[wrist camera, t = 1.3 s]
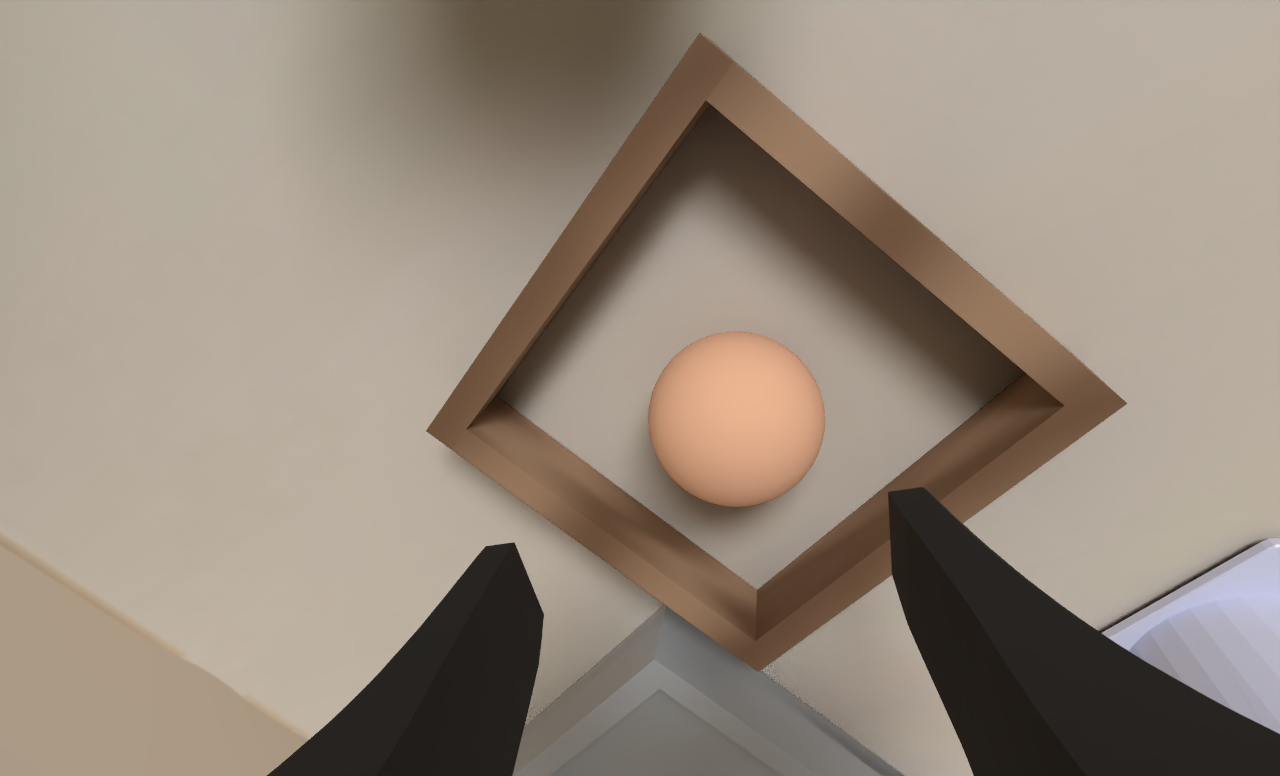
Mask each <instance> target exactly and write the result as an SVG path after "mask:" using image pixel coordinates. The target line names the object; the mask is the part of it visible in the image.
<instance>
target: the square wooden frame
mask: <svg viewBox="0 0 1280 776" xmlns="http://www.w3.org/2000/svg"><path fill="white" fill-rule="evenodd" d="M710 104H711V105H712V106H713V107H714V108H716V109H717V110H718V111H719V112H720V113H721V114H723V115H724V116H725V117H726V118H727V119H729V120H730V121H731V122H732V123H733V124H734V125H736V126H737V127H738V128H739V129H740V130H741V131H743V132H744V133H745V134H746V135H747V136H748V137H750V138H751V139H752V140H753V141H754V142H755V143H757V144H758V145H759V146H760V147H761V148H763V149H764V150H765V151H766V152H767V153H768V154H770V155H771V156H772V157H773V158H774V159H775V160H777V161H778V162H779V163H780V164H781V165H782V166H784V167H785V168H786V169H787V170H788V171H790V172H791V173H792V174H793V175H794V176H795V177H797V178H798V179H799V180H800V181H801V182H802V183H804V184H805V185H806V186H807V187H808V188H809V189H811V190H812V191H813V192H814V193H815V194H817V195H818V196H819V197H820V198H821V199H822V200H824V201H825V202H826V203H827V204H828V205H829V206H831V207H832V208H833V209H834V210H835V211H836V212H838V213H839V214H840V215H841V216H842V217H844V218H845V219H846V220H847V221H848V222H849V223H851V224H852V225H853V226H854V227H855V228H856V229H858V230H859V231H860V232H861V233H862V234H863V235H865V236H866V237H867V238H868V239H869V240H870V241H872V242H873V243H874V244H875V245H876V246H878V247H879V248H880V249H881V250H882V251H883V252H885V253H886V254H887V255H888V256H889V257H890V258H892V259H893V260H894V261H895V262H896V263H897V264H899V265H900V266H901V267H902V268H903V269H905V270H906V271H907V272H908V273H909V274H910V275H912V276H913V277H914V278H915V279H916V280H917V281H919V282H920V283H921V284H922V285H923V286H924V287H926V288H927V289H928V290H929V291H930V292H932V293H933V294H934V295H935V296H936V297H937V298H939V299H940V300H941V301H942V302H943V303H944V304H946V305H947V306H948V307H949V308H950V309H951V310H953V311H954V312H955V313H956V314H957V315H959V316H960V317H961V318H962V319H963V320H964V321H966V322H967V323H968V324H969V325H970V326H971V327H973V328H974V329H975V330H976V331H977V332H978V333H980V334H981V335H982V336H983V337H984V338H985V339H987V340H988V341H989V342H990V343H991V344H993V345H994V346H995V347H996V348H997V349H998V350H1000V351H1001V352H1002V353H1003V354H1004V355H1005V356H1007V357H1008V358H1009V359H1010V360H1011V361H1012V362H1014V363H1015V364H1016V365H1017V366H1018V367H1020V368H1021V369H1022V370H1023V371H1024V372H1025V374H1024V375H1023V376H1021V377H1020V378H1019V379H1018V380H1016V381H1015V382H1014V383H1013V384H1011V385H1010V386H1009V387H1008V388H1007V389H1005V390H1004V391H1003V392H1002V393H1000V394H999V395H998V396H997V397H995V398H994V399H993V400H992V401H990V402H989V403H988V404H987V405H986V406H984V407H983V408H982V409H981V410H979V411H978V412H977V413H976V414H974V415H973V416H972V417H971V418H969V419H968V420H967V421H966V422H965V423H963V424H962V425H961V426H960V427H958V428H957V429H956V430H955V431H953V432H952V433H951V434H950V435H949V436H947V437H946V438H945V439H944V440H942V441H941V442H940V443H939V444H937V445H936V446H935V447H934V448H932V449H931V450H930V451H929V452H928V453H926V454H925V455H924V456H923V457H921V458H920V459H919V460H918V461H916V462H915V463H914V464H913V465H911V466H910V467H909V468H908V469H907V470H905V471H904V472H903V473H902V474H900V475H899V476H898V477H897V478H895V479H894V480H893V481H892V482H891V483H889V484H888V485H887V486H886V487H884V488H883V489H882V490H881V491H879V492H878V493H877V494H876V495H874V496H873V497H872V498H871V499H870V500H868V501H867V502H866V503H865V504H863V505H862V506H861V507H860V508H858V509H857V510H856V511H855V512H853V513H852V514H851V515H850V516H849V517H847V518H846V519H845V520H844V521H842V522H841V523H840V524H839V525H837V526H836V527H835V528H834V529H833V530H831V531H830V532H829V533H828V534H826V535H825V536H824V537H823V538H821V539H820V540H819V541H818V542H816V543H815V544H814V545H813V546H812V547H810V548H809V549H808V550H807V551H805V552H804V553H803V554H802V555H800V556H799V557H798V558H797V559H795V560H794V561H793V562H792V563H791V564H789V565H788V566H787V567H786V568H784V569H783V570H782V571H781V572H779V573H778V574H777V575H776V576H774V577H773V578H772V579H771V580H770V581H768V582H767V583H766V584H765V585H763V586H762V587H761V588H760V589H758V590H756V589H754V588H753V587H752V586H750V585H749V584H748V583H746V582H745V581H744V580H742V579H741V578H740V577H738V576H737V575H736V574H734V573H733V572H732V571H730V570H729V569H728V568H726V567H725V566H724V565H722V564H721V563H719V562H718V561H717V560H715V559H714V558H713V557H711V556H710V555H709V554H707V553H706V552H705V551H703V550H702V549H701V548H699V547H698V546H697V545H695V544H694V543H693V542H691V541H690V540H689V539H687V538H686V537H685V536H683V535H682V534H681V533H679V532H678V531H677V530H675V529H674V528H673V527H671V526H670V525H669V524H667V523H666V522H665V521H663V520H662V519H661V518H659V517H658V516H656V515H655V514H654V513H652V512H651V511H650V510H648V509H647V508H646V507H644V506H643V505H642V504H640V503H639V502H638V501H636V500H635V499H634V498H632V497H631V496H630V495H628V494H627V493H626V492H624V491H623V490H622V489H620V488H619V487H618V486H616V485H615V484H614V483H612V482H611V481H610V480H608V479H607V478H606V477H604V476H603V475H602V474H600V473H599V472H597V471H596V470H595V469H593V468H592V467H591V466H589V465H588V464H587V463H585V462H584V461H583V460H581V459H580V458H579V457H577V456H576V455H575V454H573V453H572V452H571V451H569V450H568V449H567V448H565V447H564V446H563V445H561V444H560V443H559V442H557V441H556V440H555V439H553V438H552V437H551V436H549V435H548V434H547V433H545V432H544V431H543V430H541V429H540V428H539V427H537V426H536V425H534V424H533V423H532V422H530V421H529V420H528V419H526V418H525V417H524V416H522V415H521V414H520V413H518V412H517V411H516V410H514V409H513V408H512V407H510V406H509V405H508V404H506V403H505V402H504V401H502V400H501V399H500V398H498V397H497V396H496V395H497V394H498V393H499V391H500V390H501V389H502V387H503V386H504V385H505V383H506V382H507V380H508V379H509V378H510V376H511V375H512V374H513V372H514V371H515V370H516V368H517V367H518V366H519V364H520V363H521V361H522V360H523V359H524V357H525V356H526V355H527V353H528V352H529V351H530V349H531V348H532V346H533V345H534V344H535V342H536V341H537V340H538V338H539V337H540V336H541V334H542V333H543V331H544V330H545V329H546V327H547V326H548V325H549V323H550V322H551V321H552V319H553V318H554V316H555V315H556V314H557V312H558V311H559V310H560V308H561V307H562V306H563V304H564V303H565V301H566V300H567V299H568V297H569V296H570V295H571V293H572V292H573V291H574V289H575V288H576V286H577V285H578V284H579V282H580V281H581V280H582V278H583V277H584V276H585V274H586V273H587V271H588V270H589V269H590V267H591V266H592V265H593V263H594V262H595V261H596V259H597V258H598V256H599V255H600V254H601V252H602V251H603V250H604V248H605V247H606V246H607V244H608V243H609V241H610V240H611V239H612V237H613V236H614V235H615V233H616V232H617V231H618V229H619V228H620V226H621V225H622V224H623V222H624V221H625V220H626V218H627V217H628V216H629V214H630V213H631V211H632V210H633V209H634V207H635V206H636V205H637V203H638V202H639V201H640V199H641V198H642V197H643V195H644V194H645V192H646V191H647V190H648V188H649V187H650V186H651V184H652V183H653V182H654V180H655V179H656V177H657V176H658V175H659V173H660V172H661V171H662V169H663V168H664V167H665V165H666V164H667V162H668V161H669V160H670V158H671V157H672V156H673V154H674V153H675V152H676V150H677V149H678V147H679V146H680V145H681V143H682V142H683V141H684V139H685V138H686V137H687V135H688V134H689V132H690V131H691V130H692V128H693V127H694V126H695V124H696V123H697V122H698V120H699V119H700V117H701V116H702V115H703V113H704V112H705V111H706V109H707V108H708V107H709V105H710ZM1126 404H1127V403H1126V402H1125V401H1124V400H1123V399H1122V398H1120V397H1119V396H1118V395H1117V394H1116V393H1115V392H1114V391H1113V390H1112V389H1111V388H1109V387H1108V386H1107V385H1106V384H1105V383H1104V382H1103V381H1102V380H1101V379H1100V378H1099V377H1097V376H1096V375H1095V374H1094V373H1093V372H1092V371H1091V370H1090V369H1089V368H1088V367H1086V366H1085V365H1084V364H1083V363H1082V362H1081V361H1080V360H1078V359H1077V358H1076V357H1075V356H1074V355H1073V354H1072V353H1070V352H1069V351H1068V350H1067V349H1066V348H1065V347H1063V346H1062V345H1061V344H1060V343H1059V342H1058V341H1057V340H1055V339H1054V338H1053V337H1052V336H1051V335H1050V334H1048V333H1047V332H1046V331H1045V330H1044V329H1043V328H1042V327H1040V326H1039V325H1038V324H1037V323H1036V322H1035V321H1033V320H1032V319H1031V318H1030V317H1029V316H1028V315H1027V314H1025V313H1024V312H1023V311H1022V310H1021V309H1020V308H1018V307H1017V306H1016V305H1015V304H1014V303H1013V302H1012V301H1010V300H1009V299H1008V298H1007V297H1006V296H1005V295H1003V294H1002V293H1001V292H1000V291H999V290H998V289H997V288H995V287H994V286H993V285H992V284H991V283H990V282H988V281H987V280H986V279H985V278H984V277H983V276H982V275H980V274H979V273H978V272H977V271H976V270H975V269H973V268H972V267H971V266H970V265H969V264H968V263H967V262H965V261H964V260H963V259H962V258H961V257H960V256H959V255H957V254H956V253H955V252H954V251H953V250H952V249H950V248H949V247H948V246H947V245H946V244H945V243H944V242H942V241H941V240H940V239H939V238H938V237H937V236H935V235H934V234H933V233H932V232H931V231H930V230H929V229H927V228H926V227H925V226H924V225H923V224H922V223H920V222H919V221H918V220H917V219H916V218H915V217H914V216H912V215H911V214H910V213H909V212H908V211H907V210H905V209H904V208H903V207H902V206H901V205H900V204H899V203H897V202H896V201H895V200H894V199H893V198H892V197H890V196H889V195H888V194H887V193H886V192H885V191H884V190H882V189H881V188H880V187H879V186H878V185H877V184H875V183H874V182H873V181H872V180H871V179H870V178H869V177H867V176H866V175H865V174H864V173H863V172H862V171H860V170H859V169H858V168H857V167H856V166H855V165H854V164H852V163H851V162H850V161H849V160H848V159H847V158H845V157H844V156H843V155H842V154H841V153H840V152H839V151H837V150H836V149H835V148H834V147H833V146H832V145H830V144H829V143H828V142H827V141H826V140H825V139H824V138H822V137H821V136H820V135H819V134H818V133H817V132H816V131H814V130H813V129H812V128H811V127H810V126H809V125H807V124H806V123H805V122H804V121H803V120H802V119H801V118H799V117H798V116H797V115H796V114H795V113H794V112H792V111H791V110H790V109H789V108H788V107H787V106H786V105H784V104H783V103H782V102H781V101H780V100H779V99H777V98H776V97H775V96H774V95H773V94H772V93H771V92H769V91H768V90H767V89H766V88H765V87H764V86H762V85H761V84H760V83H759V82H758V81H757V80H756V79H754V78H753V77H752V76H751V75H750V74H749V73H747V72H746V71H745V70H744V69H743V68H742V67H741V66H739V65H738V64H737V63H736V62H735V61H734V60H732V59H731V58H730V57H729V56H728V55H727V54H726V53H724V52H723V51H722V50H721V49H720V48H719V47H717V46H716V45H715V44H714V43H713V42H712V41H711V40H709V39H708V38H706V37H705V36H703V35H702V34H700V33H699V35H698V36H697V38H696V39H695V41H694V42H693V44H692V45H691V47H690V48H689V49H688V51H687V52H686V54H685V55H684V57H683V58H682V60H681V61H680V63H679V64H678V65H677V67H676V68H675V70H674V71H673V73H672V74H671V76H670V77H669V79H668V80H667V81H666V83H665V84H664V86H663V87H662V89H661V90H660V92H659V93H658V95H657V96H656V97H655V99H654V100H653V102H652V103H651V105H650V106H649V108H648V109H647V111H646V112H645V113H644V115H643V116H642V118H641V119H640V121H639V122H638V124H637V125H636V127H635V128H634V129H633V131H632V132H631V134H630V135H629V137H628V138H627V140H626V141H625V143H624V144H623V145H622V147H621V148H620V150H619V151H618V153H617V154H616V156H615V157H614V159H613V160H612V161H611V163H610V164H609V166H608V167H607V169H606V170H605V172H604V173H603V175H602V176H601V177H600V179H599V180H598V182H597V183H596V185H595V186H594V188H593V189H592V191H591V192H590V193H589V195H588V196H587V198H586V199H585V201H584V202H583V204H582V205H581V206H580V208H579V209H578V211H577V212H576V214H575V215H574V217H573V218H572V220H571V221H570V222H569V224H568V225H567V227H566V228H565V230H564V231H563V233H562V234H561V236H560V237H559V238H558V240H557V241H556V243H555V244H554V246H553V247H552V249H551V250H550V252H549V253H548V254H547V256H546V257H545V259H544V260H543V262H542V263H541V265H540V266H539V268H538V269H537V270H536V272H535V273H534V275H533V276H532V278H531V279H530V281H529V282H528V284H527V285H526V286H525V288H524V289H523V291H522V292H521V294H520V295H519V297H518V298H517V300H516V301H515V302H514V304H513V305H512V307H511V308H510V310H509V311H508V313H507V314H506V316H505V317H504V318H503V320H502V321H501V323H500V324H499V326H498V327H497V329H496V330H495V332H494V333H493V334H492V336H491V337H490V339H489V340H488V342H487V343H486V345H485V346H484V348H483V349H482V350H481V352H480V353H479V355H478V356H477V358H476V359H475V361H474V362H473V364H472V365H471V366H470V368H469V369H468V371H467V372H466V374H465V375H464V377H463V378H462V379H461V381H460V382H459V384H458V385H457V387H456V388H455V390H454V391H453V393H452V394H451V395H450V397H449V398H448V400H447V401H446V403H445V404H444V406H443V407H442V409H441V410H440V411H439V413H438V414H437V416H436V417H435V419H434V420H433V422H432V423H431V425H430V426H429V427H428V429H427V430H426V431H427V432H428V433H429V434H431V435H432V436H434V437H435V438H436V439H438V440H439V441H440V442H442V443H443V444H445V445H446V446H447V447H449V448H450V449H452V450H453V451H454V452H456V453H457V454H458V455H460V456H461V457H463V458H464V459H465V460H467V461H468V462H469V463H471V464H472V465H474V466H475V467H476V468H478V469H479V470H480V471H482V472H483V473H485V474H486V475H487V476H489V477H490V478H491V479H493V480H494V481H496V482H497V483H498V484H500V485H501V486H502V487H504V488H505V489H507V490H508V491H509V492H511V493H512V494H513V495H515V496H516V497H518V498H519V499H520V500H522V501H523V502H524V503H526V504H527V505H529V506H530V507H531V508H533V509H534V510H535V511H537V512H538V513H540V514H541V515H542V516H544V517H545V518H546V519H548V520H549V521H551V522H552V523H553V524H555V525H556V526H557V527H559V528H560V529H562V530H563V531H564V532H566V533H567V534H568V535H570V536H571V537H573V538H574V539H575V540H577V541H578V542H579V543H581V544H582V545H584V546H585V547H586V548H588V549H589V550H591V551H592V552H593V553H595V554H596V555H597V556H599V557H600V558H602V559H603V560H604V561H606V562H607V563H608V564H610V565H611V566H613V567H614V568H615V569H617V570H618V571H619V572H621V573H622V574H624V575H625V576H626V577H628V578H629V579H630V580H632V581H633V582H635V583H636V584H637V585H639V586H640V587H641V588H643V589H644V590H646V591H647V592H648V593H650V594H651V595H652V596H654V597H655V598H657V599H658V600H659V601H661V602H662V603H663V604H665V605H666V606H668V607H669V608H670V609H672V610H673V611H674V612H676V613H677V614H679V615H680V616H681V617H683V618H684V619H685V620H687V621H688V622H690V623H691V624H692V625H694V626H695V627H696V628H698V629H699V630H701V631H702V632H703V633H705V634H706V635H707V636H709V637H710V638H712V639H713V640H714V641H716V642H717V643H718V644H720V645H721V646H723V647H724V648H725V649H727V650H728V651H729V652H731V653H732V654H734V655H735V656H736V657H738V658H739V659H741V660H742V661H743V662H745V663H746V664H747V665H749V666H750V667H752V668H753V669H754V670H756V671H757V672H759V671H760V670H762V669H763V668H764V667H766V666H767V665H769V664H770V663H771V662H773V661H774V660H775V659H777V658H778V657H780V656H781V655H782V654H784V653H785V652H786V651H788V650H789V649H791V648H792V647H793V646H795V645H796V644H797V643H799V642H800V641H802V640H803V639H804V638H806V637H807V636H808V635H810V634H811V633H813V632H814V631H815V630H817V629H818V628H819V627H821V626H822V625H824V624H825V623H826V622H828V621H829V620H830V619H832V618H833V617H835V616H836V615H837V614H839V613H840V612H841V611H843V610H844V609H846V608H847V607H848V606H850V605H851V604H852V603H854V602H855V601H857V600H858V599H859V598H861V597H862V596H863V595H865V594H866V593H868V592H869V591H870V590H872V589H873V588H874V587H876V586H877V585H879V584H880V583H881V582H883V581H884V580H885V579H887V578H888V577H890V576H891V575H892V566H891V545H890V525H889V504H888V492H889V491H897V490H904V489H911V488H919V487H923V488H925V489H926V490H928V491H929V492H930V493H931V494H932V495H933V496H934V497H935V498H936V499H937V500H938V501H939V502H940V503H941V504H942V505H943V506H944V507H945V508H946V509H948V510H949V511H950V512H951V513H952V514H953V515H954V516H955V517H956V518H957V519H958V520H959V521H960V522H961V523H964V522H965V521H966V520H968V519H969V518H971V517H972V516H973V515H975V514H976V513H977V512H979V511H980V510H982V509H983V508H984V507H986V506H987V505H988V504H990V503H991V502H993V501H994V500H995V499H997V498H998V497H999V496H1001V495H1002V494H1004V493H1005V492H1006V491H1008V490H1009V489H1010V488H1012V487H1013V486H1015V485H1016V484H1017V483H1019V482H1020V481H1021V480H1023V479H1024V478H1026V477H1027V476H1028V475H1030V474H1031V473H1032V472H1034V471H1035V470H1037V469H1038V468H1039V467H1041V466H1042V465H1043V464H1045V463H1046V462H1048V461H1049V460H1050V459H1052V458H1053V457H1054V456H1056V455H1057V454H1059V453H1060V452H1061V451H1063V450H1064V449H1065V448H1067V447H1068V446H1070V445H1071V444H1072V443H1074V442H1075V441H1076V440H1078V439H1079V438H1081V437H1082V436H1083V435H1085V434H1086V433H1087V432H1089V431H1090V430H1092V429H1093V428H1094V427H1096V426H1097V425H1098V424H1100V423H1101V422H1103V421H1104V420H1105V419H1107V418H1108V417H1109V416H1111V415H1112V414H1114V413H1115V412H1116V411H1118V410H1119V409H1120V408H1122V407H1123V406H1125V405H1126Z"/></svg>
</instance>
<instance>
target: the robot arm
mask: <svg viewBox="0 0 1280 776" xmlns="http://www.w3.org/2000/svg"><path fill="white" fill-rule="evenodd" d="M888 504H889V525H890V545H891V566H892V575H893V579H894V582H895V585H896V588H897V592H898V595H899V598H900V601H901V604H902V608H903V611H904V614H905V617H906V620H907V623H908V626H909V628H910V630H911V633H912V635H913V637H914V640H915V642H916V644H917V646H918V649H919V651H920V653H921V655H922V658H923V660H924V662H925V664H926V667H927V669H928V671H929V673H930V675H931V678H932V680H933V682H934V684H935V686H936V689H937V691H938V693H939V695H940V698H941V700H942V702H943V704H944V706H945V709H946V711H947V713H948V715H949V718H950V720H951V722H952V724H953V726H954V729H955V731H956V733H957V735H958V738H959V740H960V742H961V744H962V747H963V749H964V752H965V754H966V757H967V759H968V762H969V764H970V767H971V769H972V772H973V775H974V776H1280V539H1279V538H1273V539H1267V540H1264V541H1262V542H1260V543H1258V544H1256V545H1255V546H1253V547H1251V548H1249V549H1248V550H1246V551H1244V552H1242V553H1241V554H1239V555H1237V556H1235V557H1234V558H1232V559H1230V560H1228V561H1227V562H1225V563H1223V564H1221V565H1220V566H1218V567H1216V568H1214V569H1213V570H1211V571H1209V572H1207V573H1206V574H1204V575H1202V576H1200V577H1199V578H1197V579H1195V580H1193V581H1192V582H1190V583H1188V584H1186V585H1185V586H1183V587H1181V588H1179V589H1178V590H1176V591H1174V592H1172V593H1171V594H1169V595H1167V596H1165V597H1164V598H1162V599H1160V600H1158V601H1156V602H1155V603H1153V604H1151V605H1149V606H1148V607H1146V608H1144V609H1142V610H1141V611H1139V612H1137V613H1135V614H1134V615H1132V616H1130V617H1128V618H1127V619H1125V620H1123V621H1121V622H1120V623H1118V624H1116V625H1114V626H1113V627H1111V628H1109V629H1107V630H1106V631H1104V632H1102V633H1100V632H1099V631H1097V630H1096V629H1094V628H1093V627H1091V626H1090V625H1088V624H1087V623H1085V622H1084V621H1083V620H1081V619H1080V618H1078V617H1077V616H1075V615H1074V614H1073V613H1071V612H1070V611H1069V610H1067V609H1066V608H1064V607H1063V606H1062V605H1060V604H1059V603H1058V602H1056V601H1055V600H1054V599H1052V598H1051V597H1050V596H1048V595H1047V594H1046V593H1044V592H1043V591H1042V590H1041V589H1039V588H1038V587H1037V586H1035V585H1034V584H1033V583H1031V582H1030V581H1029V580H1028V579H1026V578H1025V577H1024V576H1023V575H1021V574H1020V573H1019V572H1018V571H1016V570H1015V569H1014V568H1013V567H1012V566H1010V565H1009V564H1008V563H1007V562H1006V561H1005V560H1003V559H1002V558H1001V557H1000V556H999V555H997V554H996V553H995V552H994V551H993V550H991V549H990V548H989V547H988V546H987V545H986V544H985V543H983V542H982V541H981V540H980V539H979V538H978V537H977V536H976V535H974V534H973V533H972V532H971V531H970V530H969V529H968V528H967V527H966V526H965V525H963V524H962V523H961V522H960V521H959V520H958V519H957V518H956V517H955V516H954V515H953V514H952V513H951V512H950V511H949V510H948V509H946V508H945V507H944V506H943V505H942V504H941V503H940V502H939V501H938V500H937V499H936V498H935V497H934V496H933V495H932V494H931V493H930V492H929V491H928V490H926V489H925V488H923V487H919V488H911V489H904V490H897V491H889V492H888ZM543 618H544V614H543V611H542V609H541V606H540V604H539V602H538V599H537V597H536V594H535V592H534V589H533V587H532V584H531V582H530V580H529V577H528V575H527V572H526V570H525V567H524V565H523V562H522V560H521V558H520V555H519V553H518V550H517V548H516V545H515V543H507V544H500V545H493V546H486V547H485V548H484V549H483V550H482V551H481V553H480V554H479V555H478V556H477V557H476V559H475V560H474V561H473V562H472V564H471V565H470V566H469V567H468V569H467V570H466V571H465V572H464V574H463V575H462V576H461V577H460V579H459V580H458V581H457V582H456V584H455V585H454V586H453V587H452V589H451V590H450V591H449V592H448V594H447V595H446V596H445V597H444V599H443V600H442V601H441V602H440V603H439V605H438V606H437V607H436V608H435V609H434V611H433V612H432V613H431V614H430V616H429V617H428V618H427V619H426V620H425V622H424V623H423V624H422V625H421V627H420V628H419V629H418V630H417V631H416V632H415V633H414V635H413V636H412V637H411V638H410V639H409V640H408V641H407V642H406V644H405V645H404V646H403V647H402V648H401V649H400V650H399V651H398V653H397V654H396V655H395V656H394V657H393V658H392V659H391V660H390V662H389V663H388V664H387V665H386V666H385V667H384V668H383V669H382V670H381V672H380V673H379V674H378V675H377V676H376V677H375V678H374V679H373V680H372V681H371V682H370V683H369V684H368V685H367V686H366V687H365V688H364V689H363V690H362V691H361V692H360V693H359V694H358V695H357V696H356V697H355V698H354V699H353V700H352V701H351V702H350V703H349V704H348V705H347V706H346V707H345V708H344V709H343V710H342V711H341V712H340V713H339V714H338V715H336V716H335V717H334V718H333V719H332V720H331V721H330V722H329V723H328V724H327V725H326V726H325V727H323V728H322V729H321V730H320V731H319V732H318V733H316V734H315V735H314V736H313V737H312V738H311V739H310V740H308V741H307V742H306V743H305V744H304V745H303V746H301V747H300V748H299V749H298V750H297V751H296V752H294V753H293V754H292V755H291V756H290V757H289V758H288V759H286V760H285V761H284V762H283V763H282V764H281V765H279V767H277V768H276V769H274V770H273V771H272V772H271V773H270V774H268V775H267V776H512V775H513V771H514V767H515V763H516V759H517V755H518V750H519V746H520V742H521V738H522V734H523V729H524V725H525V721H526V717H527V713H528V709H529V704H530V700H531V696H532V691H533V687H534V683H535V678H536V674H537V669H538V665H539V657H540V648H541V639H542V628H543Z"/></svg>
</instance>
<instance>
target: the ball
mask: <svg viewBox="0 0 1280 776" xmlns="http://www.w3.org/2000/svg"><path fill="white" fill-rule="evenodd" d="M648 422H649V433H650V438H651V442H652V445H653V448H654V451H655V453H656V456H657V458H658V460H659V461H660V463H661V465H662V466H663V468H664V469H665V470H666V472H667V473H668V474H669V476H670V477H671V478H672V479H673V480H674V481H675V482H676V483H677V484H678V485H679V486H681V487H682V488H683V489H684V490H686V491H687V492H689V493H690V494H692V495H694V496H696V497H698V498H700V499H702V500H705V501H707V502H710V503H714V504H717V505H723V506H731V507H742V506H751V505H757V504H761V503H764V502H768V501H770V500H772V499H775V498H777V497H779V496H780V495H782V494H784V493H786V492H787V491H788V490H790V489H791V488H792V487H793V486H795V485H796V484H797V483H798V482H799V481H800V480H801V479H802V478H803V477H804V476H805V474H806V473H807V472H808V470H809V469H810V468H811V466H812V465H813V463H814V461H815V459H816V457H817V455H818V452H819V450H820V447H821V444H822V440H823V435H824V428H825V412H824V404H823V400H822V396H821V393H820V390H819V387H818V385H817V383H816V380H815V379H814V377H813V375H812V374H811V372H810V370H809V369H808V368H807V367H806V365H805V364H804V363H803V362H802V360H801V359H800V358H799V357H798V356H797V355H795V354H794V353H793V352H792V351H791V350H789V349H788V348H786V347H785V346H784V345H782V344H780V343H778V342H776V341H774V340H772V339H769V338H767V337H764V336H761V335H757V334H753V333H746V332H727V333H719V334H715V335H711V336H707V337H705V338H702V339H700V340H697V341H696V342H694V343H692V344H690V345H689V346H687V347H686V348H684V349H683V350H682V351H681V352H679V353H678V354H677V355H676V356H675V357H674V358H673V359H672V360H671V361H670V362H669V363H668V364H667V366H666V367H665V368H664V370H663V371H662V373H661V375H660V377H659V378H658V380H657V382H656V384H655V387H654V389H653V392H652V396H651V400H650V405H649V414H648Z"/></svg>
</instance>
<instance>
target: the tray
mask: <svg viewBox="0 0 1280 776" xmlns="http://www.w3.org/2000/svg"><path fill="white" fill-rule="evenodd" d="M512 776H904V775H902V774H901V773H900V772H898V771H897V770H895V769H894V768H893V767H891V766H890V765H889V764H887V763H886V762H884V761H883V760H882V759H880V758H879V757H878V756H876V755H875V754H873V753H872V752H871V751H869V750H868V749H867V748H865V747H864V746H862V745H861V744H860V743H858V742H857V741H856V740H854V739H853V738H851V737H850V736H849V735H847V734H846V733H845V732H843V731H842V730H840V729H839V728H838V727H836V726H835V725H834V724H832V723H831V722H829V721H828V720H827V719H825V718H824V717H823V716H821V715H820V714H818V713H817V712H816V711H814V710H813V709H812V708H810V707H809V706H807V705H806V704H805V703H803V702H802V701H801V700H799V699H798V698H796V697H795V696H794V695H792V694H791V693H790V692H788V691H787V690H785V689H784V688H783V687H781V686H780V685H779V684H777V683H776V682H774V681H773V680H772V679H770V678H769V677H768V676H766V675H765V674H763V673H762V672H761V671H759V672H757V671H756V670H754V669H753V668H752V667H750V666H749V665H747V664H746V663H745V662H743V661H742V660H741V659H739V658H738V657H736V656H735V655H734V654H732V653H731V652H729V651H728V650H727V649H725V648H724V647H723V646H721V645H720V644H718V643H717V642H716V641H714V640H713V639H712V638H710V637H709V636H707V635H706V634H705V633H703V632H702V631H701V630H699V629H698V628H696V627H695V626H694V625H692V624H691V623H690V622H688V621H687V620H685V619H684V618H683V617H681V616H680V615H679V614H677V613H676V612H674V611H673V610H672V609H670V608H669V607H668V606H666V605H664V606H662V607H661V608H660V609H659V610H658V611H657V612H656V613H655V614H653V615H652V616H651V617H650V618H649V619H648V620H647V621H645V622H644V623H643V624H642V625H641V626H640V627H639V628H637V629H636V630H635V631H634V632H633V633H632V634H631V635H629V636H628V637H627V638H626V639H625V640H624V641H623V642H621V643H620V644H619V645H618V646H617V647H616V648H615V649H613V650H612V651H611V652H610V653H609V654H608V655H607V656H606V657H604V658H603V659H602V660H601V661H600V662H599V663H598V664H596V665H595V666H594V667H593V668H592V669H591V670H590V671H588V672H587V673H586V674H585V675H584V676H583V677H582V678H580V679H579V680H578V681H577V682H576V683H575V684H574V685H572V686H571V687H570V688H569V689H568V690H567V691H566V692H565V693H563V694H562V695H561V696H560V697H559V698H558V699H557V700H555V701H554V702H553V703H552V704H551V705H550V706H549V707H547V708H546V709H545V710H544V711H543V712H542V713H541V714H539V715H538V716H537V717H536V718H535V719H534V720H533V721H531V722H530V723H529V724H528V725H527V726H526V727H525V728H524V729H523V734H522V738H521V742H520V746H519V750H518V755H517V759H516V763H515V767H514V771H513V775H512Z"/></svg>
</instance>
